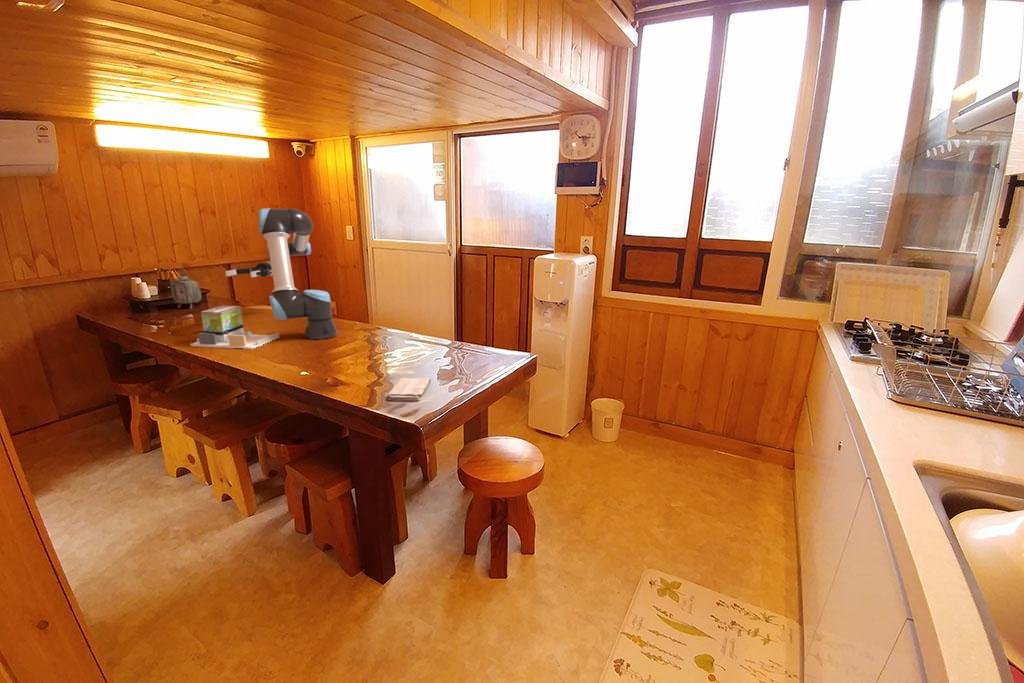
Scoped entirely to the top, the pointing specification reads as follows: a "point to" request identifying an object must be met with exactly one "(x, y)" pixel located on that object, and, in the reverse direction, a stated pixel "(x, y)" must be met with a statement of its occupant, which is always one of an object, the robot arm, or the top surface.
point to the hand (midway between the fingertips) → (238, 274)
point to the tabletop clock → (185, 290)
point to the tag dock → (234, 340)
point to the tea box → (223, 322)
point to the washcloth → (409, 389)
